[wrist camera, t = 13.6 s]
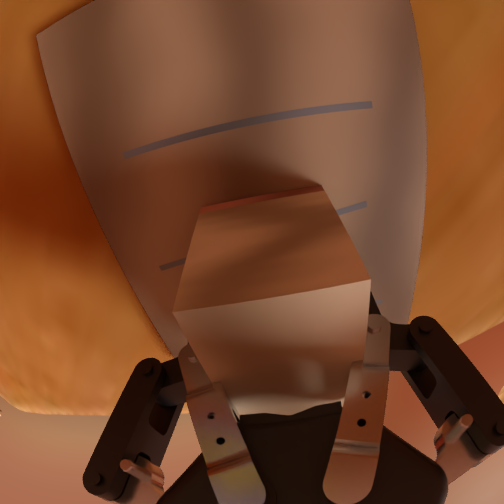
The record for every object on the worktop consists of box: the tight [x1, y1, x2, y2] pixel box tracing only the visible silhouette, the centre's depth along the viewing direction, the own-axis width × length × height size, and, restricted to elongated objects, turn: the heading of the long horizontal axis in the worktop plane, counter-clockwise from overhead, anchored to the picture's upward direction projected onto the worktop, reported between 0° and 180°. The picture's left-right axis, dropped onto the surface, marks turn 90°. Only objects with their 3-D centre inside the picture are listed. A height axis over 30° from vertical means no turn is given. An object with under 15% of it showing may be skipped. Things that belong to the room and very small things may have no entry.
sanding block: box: [172, 185, 371, 415], centre depth 12 cm, size 5×9×6 cm, turn 12°
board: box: [36, 0, 427, 358], centre depth 13 cm, size 15×22×2 cm
